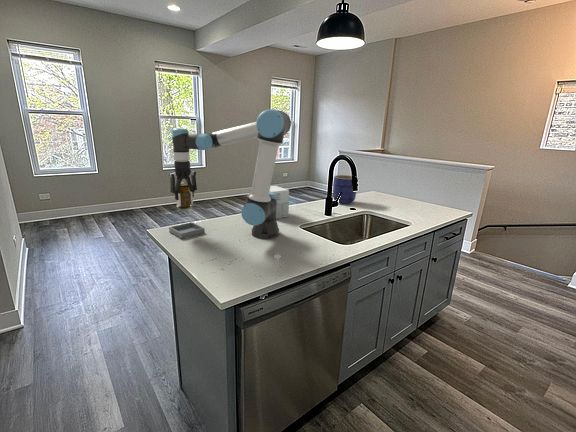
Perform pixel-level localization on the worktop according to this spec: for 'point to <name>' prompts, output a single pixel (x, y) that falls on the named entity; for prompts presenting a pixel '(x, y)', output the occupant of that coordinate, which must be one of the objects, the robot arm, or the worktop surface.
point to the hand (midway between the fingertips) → (185, 204)
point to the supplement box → (281, 201)
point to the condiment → (184, 197)
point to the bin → (186, 230)
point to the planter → (343, 189)
